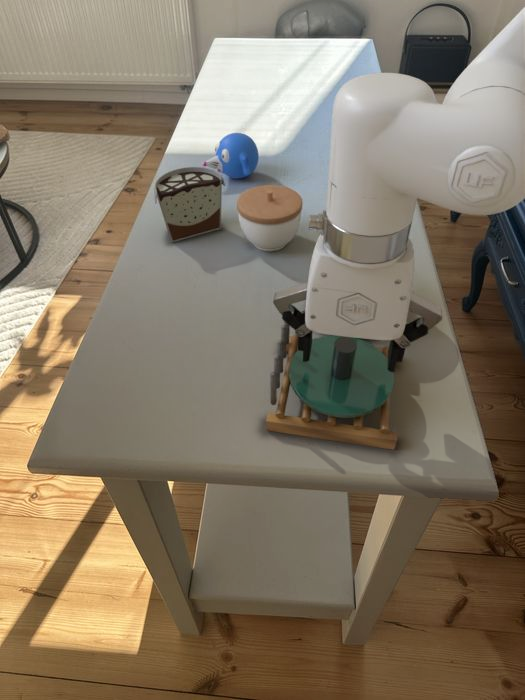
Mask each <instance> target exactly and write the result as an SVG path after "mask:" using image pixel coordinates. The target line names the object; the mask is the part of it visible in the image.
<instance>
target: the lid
mask: <svg viewBox="0 0 525 700" xmlns="http://www.w3.org/2000/svg"><path fill="white" fill-rule="evenodd" d="M315 338H316V339H315ZM315 338H312V339H313V340H312V347H311V353H310V359H309V361H307V362H303V351H298V350H297V352H296V353H295V354H294V356H293V358H292V360H291V363H290V367H289V379H290V387H291V388H292V390H293V392H294V394H295V395H296V396H297V397H298V399H299V400H300V401H301V402H302V403H303V404H304V403H305V404H306V405H307V406H309V407H310V408H312V409H311V410H314V411H315V412H317V413H319V414H323V415H326V416H328V415H329V416H334V417H337V418H341V419H343V418H344V419H346V418H347V419H349V418H350V419H351V418H354V417H359V416H363V417H364V416H366V415H368V414H371V413H374V412H375V411H377V410H378V409H381V406H382V405H383V404H384V403H385V402H386V401H387V399H388V398H389V397H390V398H391V394H392V392H393V390H394V389H393V388H394V386H395V372H389V370H387V369H388V359H387V358H386V357H385V355H384V354H383V353H382V352H381V351H380V350H379V349H377V348H376V347H377V346H374V345H373V344H371V343H369V342H368V341H365V339H363V340H361V339H358V338H354V337H345V336H336V335H324V336H320V337H315Z"/></svg>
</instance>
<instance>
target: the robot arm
mask: <svg viewBox="0 0 525 700" xmlns="http://www.w3.org/2000/svg"><path fill="white" fill-rule="evenodd" d="M331 117H332V118H331V130H330V142H329V143H330V145H329V159H328V174H327V175H328V176H327V189H326V190H327V192H326V203H325V204H326V205H325V207H326V208H325V210H322V213H318V214H309V219H308V231H309V230H311V231H316V232H317V233H320V234H319V235H318V237H317V240H316V243H315V245H314V248H313V252H312V256H311V260H310V265H309V271H308V277H307V278H308V279H307V282H305V283H302V284H299V285H295V286H293V287H292V286H291V287H289V288H286V289H282V290H279V291H277V292H275V293H274V297H273V300H272V303H273V305H274V307H275V308H276V310H277V311H278V313H279V314H280V315H281V319H282V321H285V322H286V323H287V324H288V325H290V328H292V329H293V330H294V335H297V336H298V351H303V362H307V361H309V359H310V353H311V347H312V339H313V335H314V333H317V334H321V335H327V336H330V335H336V336H345V337H354V338H364V339H363V340H375V341H389V345H388V347H389V349H388V369H387V370H389V372H393V373H395V369H396V366H397V363H402V362H403V359H404V355H405V352H406V349H407V348H408V349H409V347H411V343H413V342H415V341H417V340H419V339H421V338H422V337H425V336H427V335H428V333H429V331H430V330H431V329H433V328H434V327H436V326H437V325H438V324H439V323H440V322H441V321H442V320H443V309H442V308H441V307H440V306H438V305H436V304H434V303H432V302H430V301H428V300H427V299H425V298H423V297H421V296H419V295H417V294H415V293H413V285H414V278H415V277H414V276H415V249H414V247H413V246H414V245H413V242H412V240H411V239H410V238H409V237H410V233H411V228H412V225H413V220H414V219H413V218H414V215H415V214H414V213H415V209H416V205H417V200H421V201H423V202H427V203H430V204H433V205H434V206H437V207H440V208H443V209H446V210H449V211H451V212H455V213H459V214H463V215H470V216H491V215H496V214H500V213H503V212H507V211H508V210H510V209H512V208H514V207H516V206H517V205H518V204H520V203H521V202H522V201H524V200H525V6H524V7H523V8H522V9H521V10H520V11H519V12H518V13H517V14H516V15H515V16H514V17H513V18H512V19H511V20H510V21H509V23H508V24H506V25H505V27H504V28H503V29H502V30H501V31H500V32H499V33H498V34H496V36H495V37H494V38H493V39H492V40H490V42H489V43H487V45H486V46H485V47H484V48H483V49H482V50H481V51H480V52H479V53H478V55H477V56H476V57H475V58H474V59H473V60H472V61H471V62H470V63H469V64H468V65H467V67H466V68H464V70H463V71H462V72H461V73H460V74H459V76H458V77H457V78H456V79H455V81H454V82H453V83H452V85H451V86H450V88H449V89H448V91H447V93H446V95H445V97H444V99H443V101H442V103H440V102H438V101H437V99H436V94H435V93H434V90H433V88H432V87H431V86H430V85H428V83H427V82H426V81H424V80H422V79H420V78H417V77H414V76H412V75H409V74H403V73H395V72H374V73H373V72H372V73H367V74H363V75H359V76H355V77H352V78H351V79H349V80H348V81H346V82H345V83H343V85H342V86H341V87H340V88H339V89H338V91H337V93H336V95H335V97H334V101H333V107H332V116H331ZM304 301H305V308H304V309H303V310H302V311H301V310H299V308H297V307H296V306H295V305H294V304H297V303H300V302H304ZM409 311H410V312H411V313H413V314H415V315H417V316H419V317H418V318H416V319H414V320H411V321H409V322H408V321H407V319H408V315H409ZM313 332H314V333H313Z"/></svg>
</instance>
